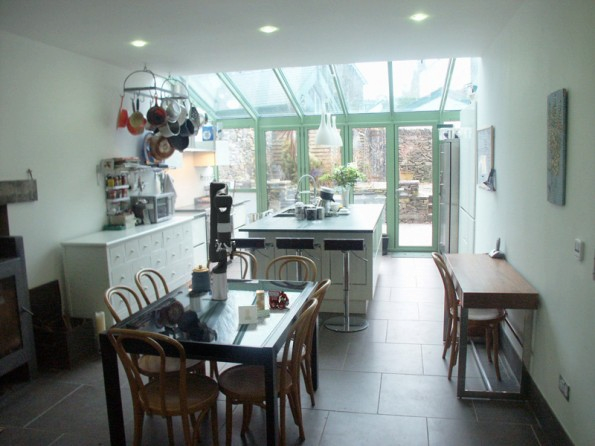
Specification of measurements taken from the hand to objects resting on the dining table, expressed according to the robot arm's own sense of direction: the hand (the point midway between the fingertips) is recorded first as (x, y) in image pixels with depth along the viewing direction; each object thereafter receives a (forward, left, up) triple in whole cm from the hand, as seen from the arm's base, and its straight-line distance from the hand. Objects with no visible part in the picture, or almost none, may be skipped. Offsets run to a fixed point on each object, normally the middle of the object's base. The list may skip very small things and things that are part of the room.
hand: (225, 258), depth 282 cm
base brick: (+17, +9, -33) cm, 38 cm away
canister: (-50, +36, -33) cm, 70 cm away
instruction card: (+19, -7, -33) cm, 39 cm away
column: (+17, +9, -29) cm, 35 cm away
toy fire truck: (+19, +25, -33) cm, 46 cm away
